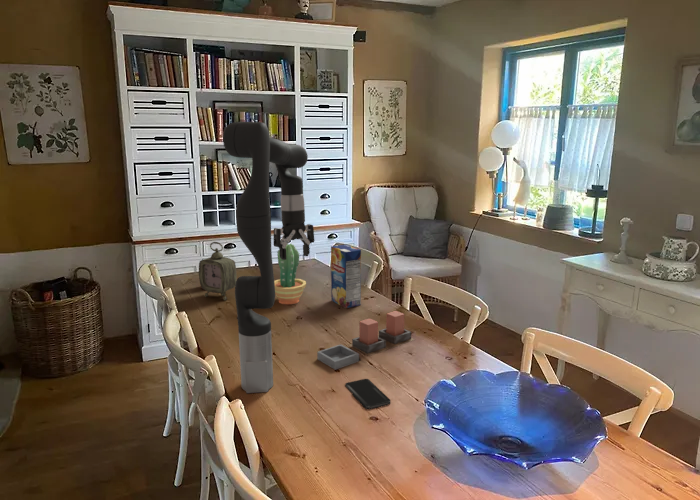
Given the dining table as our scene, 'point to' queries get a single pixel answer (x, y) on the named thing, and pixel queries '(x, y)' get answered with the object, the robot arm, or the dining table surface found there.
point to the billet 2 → (395, 323)
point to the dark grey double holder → (382, 342)
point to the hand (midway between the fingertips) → (295, 257)
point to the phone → (367, 394)
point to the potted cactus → (289, 277)
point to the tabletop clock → (217, 273)
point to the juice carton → (346, 275)
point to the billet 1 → (368, 331)
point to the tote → (338, 356)
